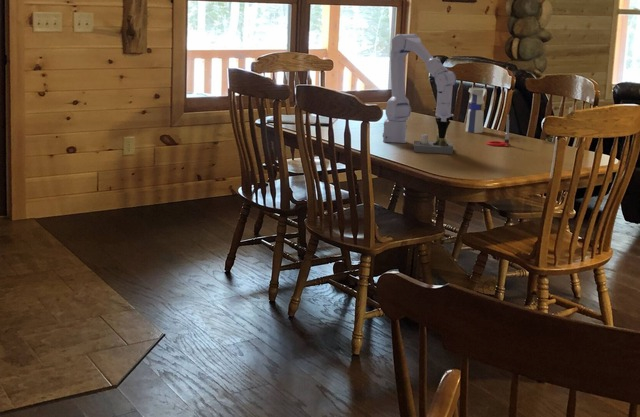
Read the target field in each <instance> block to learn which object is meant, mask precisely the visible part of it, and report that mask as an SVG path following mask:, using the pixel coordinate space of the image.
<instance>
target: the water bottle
mask: <svg viewBox="0 0 640 417" xmlns="http://www.w3.org/2000/svg"><path fill="white" fill-rule="evenodd" d="M481 81H482V85H487V81H488V79H486V76H484V77H483V79H481ZM468 93H470V98H469V101H468V104H469V106H468V109H467V116H466V123H465V124H466V125H465V132H466V133H470V134H471V133H473V134H482V133H483V132H484V130H483V129H484V115H485V114H484V113H485V112H484V111H485V109H486V103H485V101H484V96H485V97H486V96H487V93H488V92H487V89H486V88H482V87H469V89H468Z"/></svg>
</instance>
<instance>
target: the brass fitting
mask: <svg viewBox="0 0 640 417" xmlns="http://www.w3.org/2000/svg"><path fill="white" fill-rule="evenodd" d="M435 130H436V132H435V142H436V143H435V145H438V146H446V145H447V142H448V132H449V127H448V128H447V131H446V135H445V138H439V133H438V125H437V124H436V129H435Z"/></svg>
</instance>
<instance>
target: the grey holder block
mask: <svg viewBox="0 0 640 417" xmlns="http://www.w3.org/2000/svg"><path fill="white" fill-rule="evenodd" d="M435 143H436V141H430V140H429V134H421V140H414V141H413V153H424V154H425V153H427V154H428V153H429V154H444V155H447V154H450V155H453V153H454V146H453V143H452V142H448V141H447V145H446V146H438V145H435Z"/></svg>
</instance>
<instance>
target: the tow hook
mask: <svg viewBox="0 0 640 417" xmlns="http://www.w3.org/2000/svg"><path fill="white" fill-rule="evenodd" d="M504 137H505V138H504V141H503V140H502V141H501V140H490V141H486V142H485V144H486V145H488V146H491V147H493V146H494V147H508V146H509V145H510V114H506V120H505V136H504Z"/></svg>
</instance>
